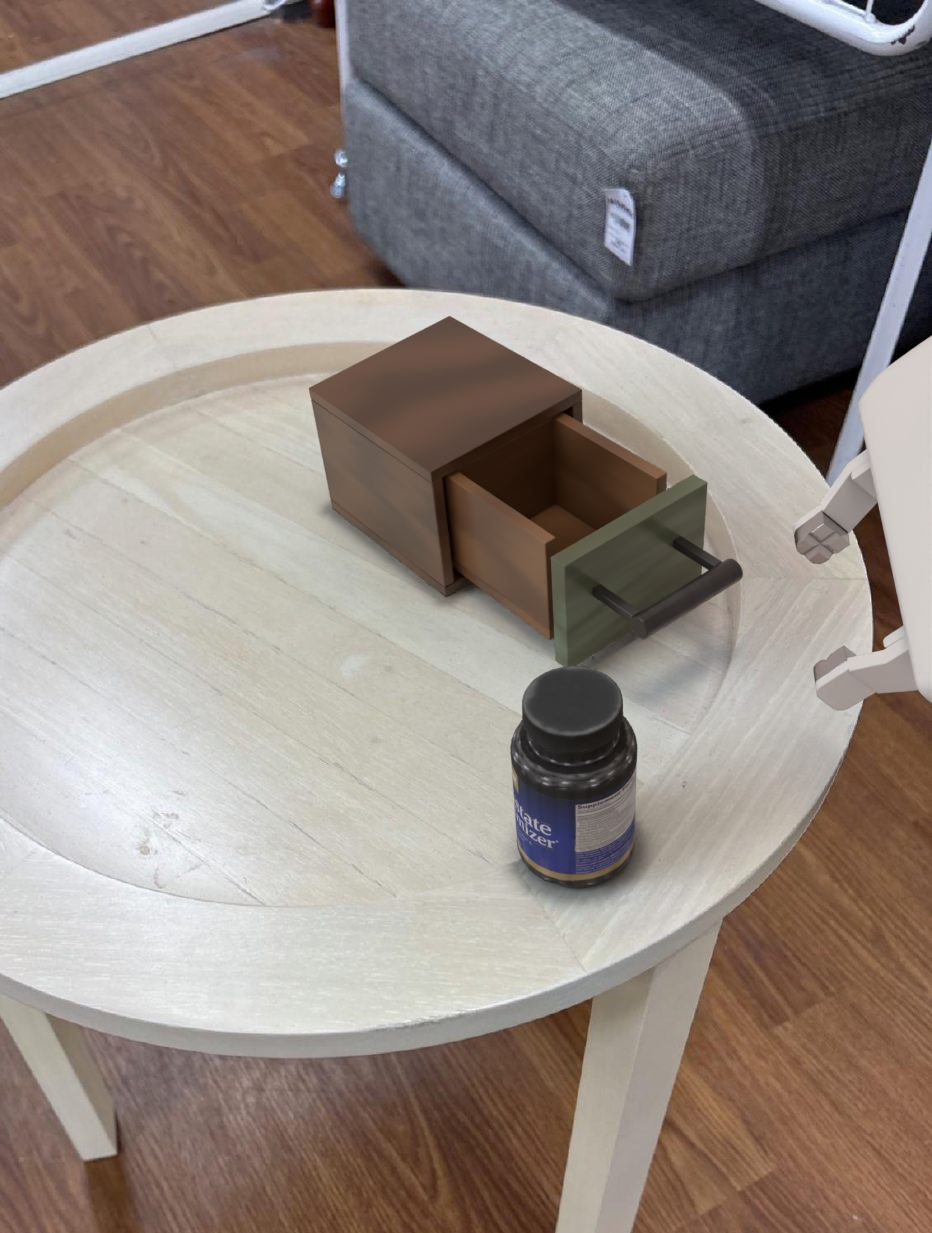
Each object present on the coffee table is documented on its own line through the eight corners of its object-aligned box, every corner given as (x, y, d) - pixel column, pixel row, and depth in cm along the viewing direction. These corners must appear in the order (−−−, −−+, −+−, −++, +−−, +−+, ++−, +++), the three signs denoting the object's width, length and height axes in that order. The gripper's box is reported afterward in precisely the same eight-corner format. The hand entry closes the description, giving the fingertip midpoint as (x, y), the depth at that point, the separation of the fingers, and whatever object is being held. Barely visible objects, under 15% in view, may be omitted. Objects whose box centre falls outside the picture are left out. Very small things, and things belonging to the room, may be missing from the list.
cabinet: (585, 517, 87) (582, 389, 80) (446, 597, 84) (430, 472, 77) (461, 437, 95) (449, 315, 88) (331, 508, 93) (308, 387, 85)
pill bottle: (497, 831, 71) (482, 685, 63) (595, 786, 72) (593, 636, 63) (555, 910, 67) (547, 765, 59) (658, 861, 68) (664, 712, 59)
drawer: (758, 626, 76) (771, 518, 70) (622, 712, 74) (623, 607, 68) (566, 502, 87) (563, 399, 81) (441, 574, 84) (428, 472, 78)
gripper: (1020, 212, 53) (747, 437, 62) (1152, 525, 40) (782, 748, 49) (1111, 306, 55) (835, 509, 64) (1263, 631, 42) (890, 825, 51)
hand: (812, 615), depth 57 cm, fingers open, 8 cm apart
